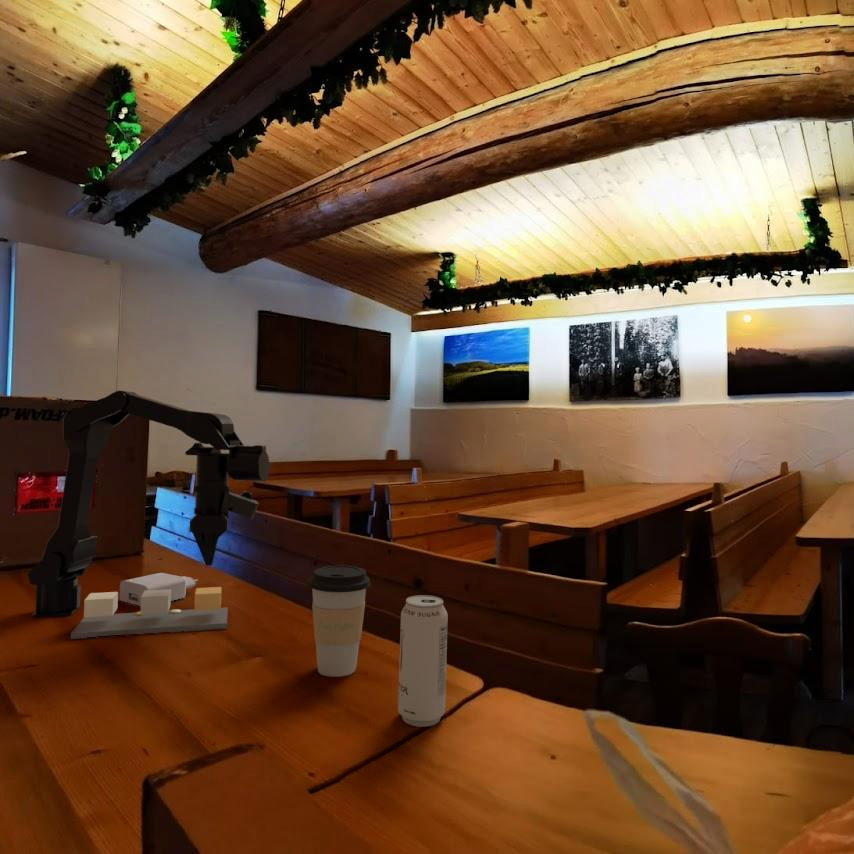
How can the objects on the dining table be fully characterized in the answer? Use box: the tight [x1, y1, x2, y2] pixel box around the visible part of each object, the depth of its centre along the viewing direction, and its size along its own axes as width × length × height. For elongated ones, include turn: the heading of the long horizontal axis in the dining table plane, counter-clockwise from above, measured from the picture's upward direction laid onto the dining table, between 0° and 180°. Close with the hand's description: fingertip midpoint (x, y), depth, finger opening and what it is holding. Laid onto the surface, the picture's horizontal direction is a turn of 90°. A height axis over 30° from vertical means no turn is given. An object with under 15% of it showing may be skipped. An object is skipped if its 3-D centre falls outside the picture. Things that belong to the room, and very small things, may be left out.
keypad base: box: [70, 607, 229, 640], centre depth 109 cm, size 25×10×1 cm, turn 108°
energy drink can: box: [397, 594, 449, 728], centre depth 76 cm, size 6×6×15 cm
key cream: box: [83, 591, 119, 618], centre depth 106 cm, size 4×4×3 cm
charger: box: [119, 572, 199, 606], centre depth 127 cm, size 5×9×15 cm
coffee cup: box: [307, 565, 371, 678], centre depth 91 cm, size 9×9×15 cm
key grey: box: [140, 589, 172, 614], centre depth 109 cm, size 4×4×3 cm
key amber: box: [193, 586, 222, 611], centre depth 112 cm, size 4×4×3 cm
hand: (209, 562), depth 112 cm, fingers open, 4 cm apart
